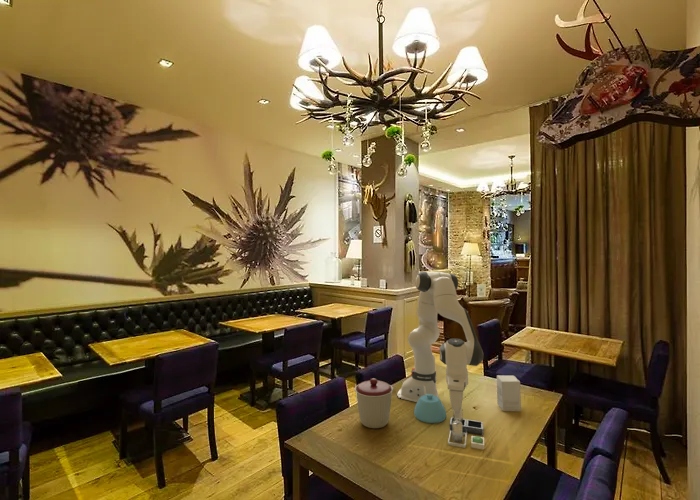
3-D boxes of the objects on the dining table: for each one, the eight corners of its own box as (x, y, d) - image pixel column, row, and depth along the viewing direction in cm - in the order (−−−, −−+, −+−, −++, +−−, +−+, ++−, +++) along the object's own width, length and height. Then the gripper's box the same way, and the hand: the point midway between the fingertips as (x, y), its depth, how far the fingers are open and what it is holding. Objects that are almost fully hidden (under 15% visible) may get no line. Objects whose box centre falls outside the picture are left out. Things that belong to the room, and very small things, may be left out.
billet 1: (453, 428, 158) (452, 410, 158) (454, 424, 162) (453, 406, 162) (462, 430, 156) (462, 411, 156) (463, 425, 160) (462, 407, 160)
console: (471, 450, 143) (470, 442, 143) (471, 442, 148) (471, 435, 148) (484, 452, 141) (484, 445, 141) (484, 444, 147) (484, 437, 147)
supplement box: (514, 403, 184) (514, 375, 184) (521, 411, 175) (520, 381, 175) (496, 403, 185) (496, 374, 185) (502, 411, 176) (501, 381, 176)
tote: (447, 447, 145) (447, 442, 145) (450, 435, 154) (450, 430, 154) (465, 450, 143) (465, 445, 143) (467, 438, 152) (466, 433, 152)
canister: (400, 419, 169) (399, 376, 169) (382, 437, 154) (381, 389, 154) (367, 411, 179) (366, 369, 179) (347, 426, 164) (347, 381, 164)
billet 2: (452, 443, 147) (451, 424, 147) (453, 438, 151) (452, 419, 151) (462, 445, 146) (461, 425, 146) (462, 440, 150) (462, 421, 150)
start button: (473, 446, 144) (473, 439, 144) (473, 441, 147) (473, 435, 147) (482, 447, 143) (482, 441, 143) (482, 443, 146) (482, 437, 146)
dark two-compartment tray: (449, 432, 157) (449, 424, 157) (451, 424, 164) (450, 416, 164) (483, 438, 152) (483, 429, 151) (483, 429, 159) (483, 421, 159)
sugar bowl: (447, 427, 162) (446, 402, 161) (414, 424, 165) (413, 400, 164) (445, 412, 176) (444, 389, 176) (414, 410, 179) (414, 387, 179)
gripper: (451, 370, 159) (452, 400, 159) (447, 386, 140) (448, 421, 140) (466, 371, 157) (467, 402, 157) (463, 388, 138) (465, 424, 138)
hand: (458, 411), depth 148 cm, fingers open, 8 cm apart
